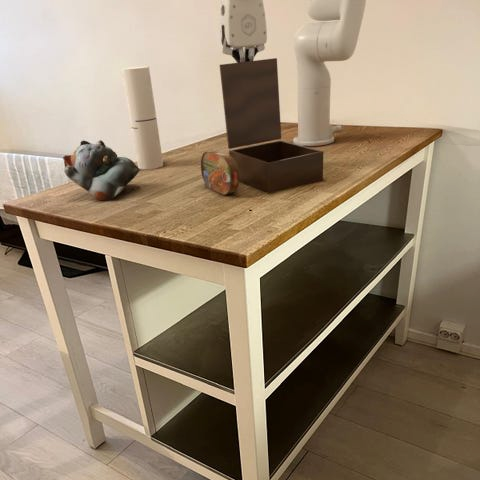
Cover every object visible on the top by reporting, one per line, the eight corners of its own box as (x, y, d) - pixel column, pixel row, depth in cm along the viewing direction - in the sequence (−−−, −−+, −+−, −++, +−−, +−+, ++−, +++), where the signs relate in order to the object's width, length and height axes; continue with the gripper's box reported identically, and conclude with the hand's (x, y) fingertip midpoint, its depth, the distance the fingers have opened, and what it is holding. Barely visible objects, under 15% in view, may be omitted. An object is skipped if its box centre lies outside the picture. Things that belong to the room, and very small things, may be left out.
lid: (276, 58, 115) (275, 58, 116) (220, 64, 109) (219, 64, 110) (281, 138, 124) (280, 138, 125) (229, 148, 118) (228, 148, 119)
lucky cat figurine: (108, 204, 109) (65, 150, 104) (86, 215, 119) (46, 166, 113) (149, 169, 117) (112, 117, 111) (126, 182, 126) (90, 134, 120)
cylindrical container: (158, 169, 134) (142, 68, 121) (134, 169, 136) (116, 69, 123) (166, 162, 140) (152, 65, 127) (143, 163, 142) (127, 67, 129)
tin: (201, 184, 118) (197, 149, 114) (212, 182, 120) (209, 146, 115) (230, 199, 107) (227, 160, 102) (242, 196, 108) (240, 157, 104)
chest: (323, 180, 114) (323, 151, 111) (268, 193, 109) (267, 163, 105) (281, 166, 128) (280, 140, 124) (231, 177, 122) (229, 150, 119)
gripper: (218, -12, 101) (225, 85, 111) (278, -15, 107) (280, 77, 116) (202, -9, 107) (210, 83, 116) (260, -12, 112) (263, 76, 122)
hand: (245, 80), depth 116 cm, fingers closed
